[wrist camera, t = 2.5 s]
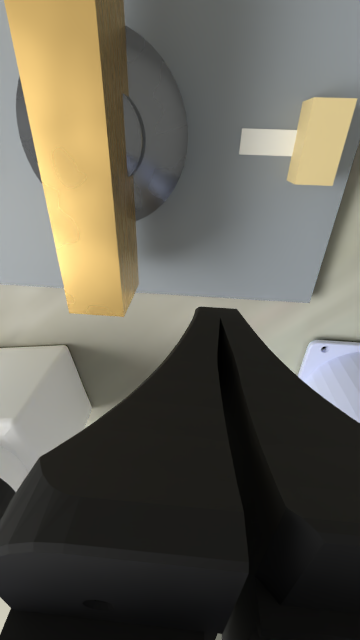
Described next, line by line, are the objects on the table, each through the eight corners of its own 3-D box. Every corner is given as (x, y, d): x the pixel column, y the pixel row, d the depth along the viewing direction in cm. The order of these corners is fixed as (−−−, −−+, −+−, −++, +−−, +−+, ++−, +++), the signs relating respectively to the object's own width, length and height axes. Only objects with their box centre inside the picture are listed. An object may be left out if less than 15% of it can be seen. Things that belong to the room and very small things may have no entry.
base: (437, -149, 9) (499, -227, 7) (305, 296, 18) (317, 316, 16) (-204, -139, 10) (-300, -203, 8) (-36, 276, 19) (-64, 292, 17)
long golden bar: (197, -123, 8) (193, -279, 5) (182, 283, 15) (176, 320, 12) (-33, -120, 9) (-166, -265, 6) (55, 275, 16) (18, 309, 13)
